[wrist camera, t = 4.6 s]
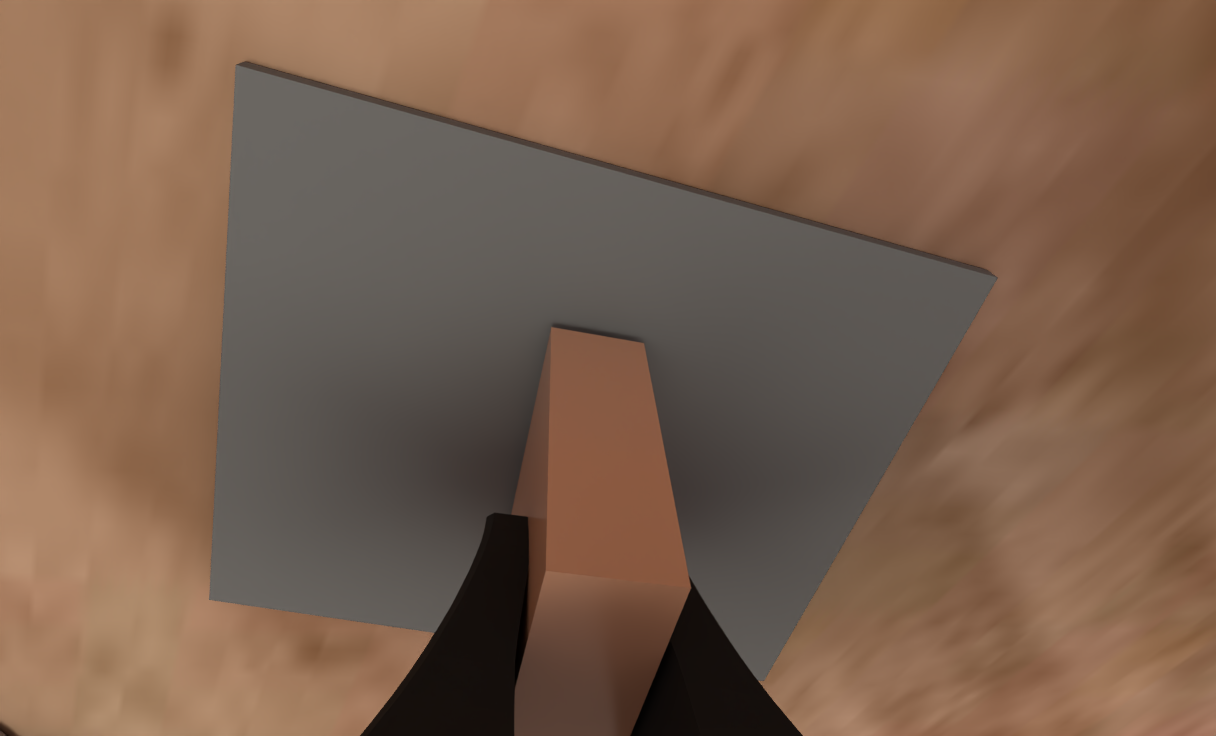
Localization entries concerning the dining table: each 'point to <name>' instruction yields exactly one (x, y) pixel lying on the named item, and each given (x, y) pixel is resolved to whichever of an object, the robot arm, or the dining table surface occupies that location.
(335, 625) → the dining table surface
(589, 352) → the terracotta tile
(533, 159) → the rubber mat
